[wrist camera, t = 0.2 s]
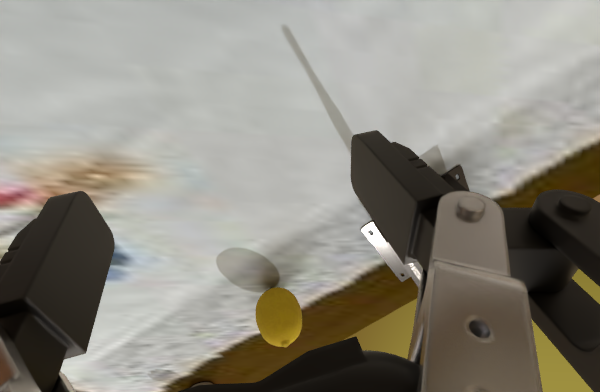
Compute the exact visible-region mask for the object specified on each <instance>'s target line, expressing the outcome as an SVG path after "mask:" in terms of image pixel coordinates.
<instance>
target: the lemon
mask: <svg viewBox="0 0 600 392" xmlns="http://www.w3.org/2000/svg"><path fill="white" fill-rule="evenodd" d="M256 322H257V325H258V328H259V330H260V333H261V335H262V337H263V338H264V339H265V340H266V341H267V342H268V343H270V344H272V345H274V346H279V347H280V346H283V347H287V346H289V344H291V343H292V342H293V341H294V340H295V339H296V338H297V337H298V335H299V333H300V331H301V328H302V313H301V308H300V305H299V303H298V301H297V299H296V297H295V296H294V295H293V294H292V293H291V292H290V291H288V290H286V289H284V288H274V287H273V288H271V289H269V290H267V291H266V292H264V293H263V294H262V296H261V297H260V298H259V300H258V303H257V306H256Z"/></svg>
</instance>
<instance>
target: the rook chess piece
mask: <svg viewBox="0 0 600 392" xmlns="http://www.w3.org/2000/svg"><path fill="white" fill-rule="evenodd" d="M208 384H213V383H210V382H201V383H198V384H195V385H194V386H192V387H195V386H198V385H208Z"/></svg>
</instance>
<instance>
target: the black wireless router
mask: <svg viewBox="0 0 600 392" xmlns="http://www.w3.org/2000/svg"><path fill="white" fill-rule="evenodd" d="M457 174H459V177H460V179H459V180H457V179H456V177H455V176H456V175H457ZM441 177H442V178H443V179H444V180H445V181H446V182H447V183H448V184H449V185H450V186H452V187H453V188H454V189H455V190H456V191H469V188H468V185H467V182H466V179H465V176H464V173H463V169H462V167H461V166H460V165H459V166H457V167H455V168H454V169H452V170H451V171H449V172H448V173H446V174H445V175H443V176H441ZM369 230H372V232H373V234H372V235H370V234H369V232H368V231H369ZM361 231H362V232H363V233H364V235H365V236H366V237H367V239H368V240H369V241H370V242H371V244H372V245H373V246H374V248H375V249H376V250H377V251H378V253H379V254H380V255H381V257H382V258H383V259H384V260H385V262H386V263H387V264H388V266H389V267H390V268H391V269H392V271H393V272H394V273H395V275H396V276H397V277H398V279H399V280H400V281H401V282H402V281H404V280H406V279H408V278H409V277H411V278H412V279H413V280H414V282H415V283H416V285H417V286H418V287H419V284H420V277H421V272H422V266H421V265H420V263H419V262H414V263H411V264H407V265H403V263H402V262H401V260H400V259H399V257H398V256H397V254H396V253H395V251H394V250H393V248H392V247H391V245H390V244H389V242H388V241H387V239H386V238H385V236H384V235H383V234H382V232H381V231H380V229H379V228H378V226H377V225H376V223H375V222H374V220H373V221H372V222H370V223H369V224H367V225H366V226H364V227H363V228H362V229H361ZM401 273H403V274H404V276H403V277H402V276H401V275H400V274H401Z"/></svg>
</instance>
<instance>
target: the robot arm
mask: <svg viewBox="0 0 600 392" xmlns="http://www.w3.org/2000/svg"><path fill="white" fill-rule="evenodd" d="M351 182H352V186H353V189H354V191H355V193H356V195H357V196H358V198H359V199H360V201H361V202H362V204H363V205H364V207H365V208H366V210H367V211H368V213H369V214H370V216H371V217H372V219H373V220H374V222H375V223H376V225H377V226H378V228H379V229H380V231H381V232H382V234H383V235H384V236H385V238H386V239H387V241H388V242H389V244H390V245H391V247H392V248H393V250H394V251H395V253H396V254H397V256H398V257H399V259H400V260H401V262H402V263H403V265H407V264H411V263H414V262H419V263H420V265H421V266H422V272H421V277H420V284H419V291H418V298H417V306H416V313H415V320H414V327H413V333H412V339H411V343H410V348H409V354H408V359H405V358H402V357H399V356H397V355H393V354H389V353H385V352H379V351H362V349H361V346H360V344H359V342H358V339H357V337H353V338H349V339H347V340H343V341H340V342H337V343H333V344H330V345H327V346H324V347H320V348H317V349H314V350H311V351H308V352H306V353H305V354H303V355H301V356H300V357H298V358H297V359H295V360H293V361H292V362H290V363H289V364H287V365H285V366H284V367H282V368H281V369H279V370H277V371H276V372H274V373H273V374H271V375H270V376H268V377H266V378H265V379H263V380H261V381H259V382H256V383H239V384H208V385H198V386H195V387H191V388H188V389H185V390H182V391H178V392H543V391H542V385H541V378H540V372H539V365H538V359H537V352H536V345H535V340H534V333H533V326H532V320H533V321H534V322H535V323H536V324H537V326H538V327H539V328H540V329H541V330H542V331H543V333H544V334H545V335H546V336H547V337H548V339H549V340H550V341H551V342H552V343H553V344H554V346H555V347H556V348H557V349H558V350H559V352H560V353H561V354H562V355H563V356H564V357H565V359H566V360H567V361H568V362H569V363H570V364H571V366H572V367H573V368H574V369H575V370H576V371H577V373H578V374H579V375H580V376H581V377H582V379H583V380H584V381H585V382H586V383H587V384H588V386H589V387H590V388H591V389H592V390H593V391H594V392H600V304H598V303H597V302H596V301H595V300H594V299H593V298H592V297H591V296H590V295H589V294H588V293H587V292H586V291H584V290H583V289H582V288H581V287H580V286H579V285H578V284H577V283H576V282H575V281H574V280H573V279H572V277H573V275H574V274H575V273H576V271H577V270H578V269H580V270H581V271H583V272H584V273H585V274H586V275H587V276H588V277H589V278H590V279H592V280H593V281H594V282H595V283H596V284H597V285H599V286H600V203H599V202H597V201H595V200H594V199H592V198H590V197H588V196H585V195H582V194H579V193H576V192H571V191H565V190H550V191H545V192H543V193H541V194H540V195H539V196H538V197H537V199H536V201H535V203H534V205H533V207H532V208H501V207H500V206H499V205H498V204H497V203H496V202H495V201H493V200H492V199H490V198H488V197H486V196H484V195H481V194H478V193H474V192H469V191H456V190H455V189H454V188H453V187H452V186H450V185H449V184H448V183H447V182H446V181H445V180H444V179H443V178H442V177H440V176H439V175H438V174H437V173H436V172H435V171H434V170H433V169H432V168H430V167H429V166H428V167H427V164H426V163H425V162H424V161H423V160H422V159H419V157H418V156H417V155H416V154H415V153H414V152H413V151H412V150H411V149H409V148H407V147H405V146H403V145H401V144H398V143H396V142H392V143H390V142H389V141H388V140H387V139H386V138H385V137H384V136H383V135H382V134H381V133H380V132H379V131H377V130H375V131H370V132H366V133H361V134H356V135H354V136H353V137H352V142H351ZM113 252H114V238H113V234H112V232H111V230H110V228H109V227H108V225H107V224H106V222H105V220H104V219H103V217H102V216H101V214H100V213H99V211H98V210H97V208H96V206H95V205H94V203H93V202H92V200H91V199H90V197H89V196H88V195H87V194H86V193H85V192H83V191H78V192H73V193H68V194H64V195H59V196H54V197H51V198H49V199H48V201H47V202H46V204H45V205H44V207H43V209H42V210H41V212H40V214H39V215H38V217H37V219H34V220H33V221H31V222H30V223H29V224H28V225H27V226H26V227H25V228H24V229H22V230H21V231H20V232H19V233H18V234H17V235H16V237H15V239H14V240H13V242H12V243H11V245H10V246H9V248H8V252H6V253H5V254H4V256H3V257H2V259H1V261H0V392H76V391H75V390H74V388H73V386H72V385H71V383H70V382H69V380H68V379H67V377H66V376H65V375H64V374H63V373H62V372H61V371H60V369H61V366H62V363H63V360H64V359H67V358H71V357H74V356H78V355H81V354H85V353H86V351H87V347H88V343H89V340H90V336H91V333H92V329H93V325H94V322H95V318H96V314H97V311H98V307H99V303H100V300H101V296H102V292H103V289H104V285H105V281H106V278H107V274H108V271H109V267H110V263H111V260H112V256H113ZM531 319H532V320H531Z"/></svg>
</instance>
